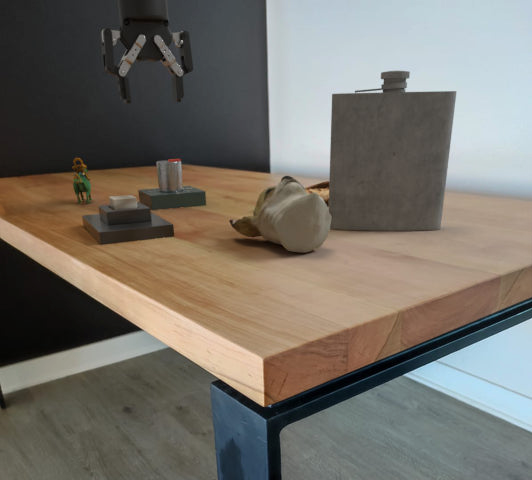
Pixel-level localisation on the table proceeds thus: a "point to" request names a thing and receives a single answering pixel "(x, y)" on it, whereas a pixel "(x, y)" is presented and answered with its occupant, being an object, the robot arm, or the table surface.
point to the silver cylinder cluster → (169, 175)
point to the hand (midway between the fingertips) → (152, 102)
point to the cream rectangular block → (123, 202)
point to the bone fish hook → (320, 190)
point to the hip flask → (389, 157)
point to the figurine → (81, 181)
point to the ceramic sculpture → (288, 217)
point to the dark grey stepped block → (126, 225)
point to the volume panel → (172, 198)
